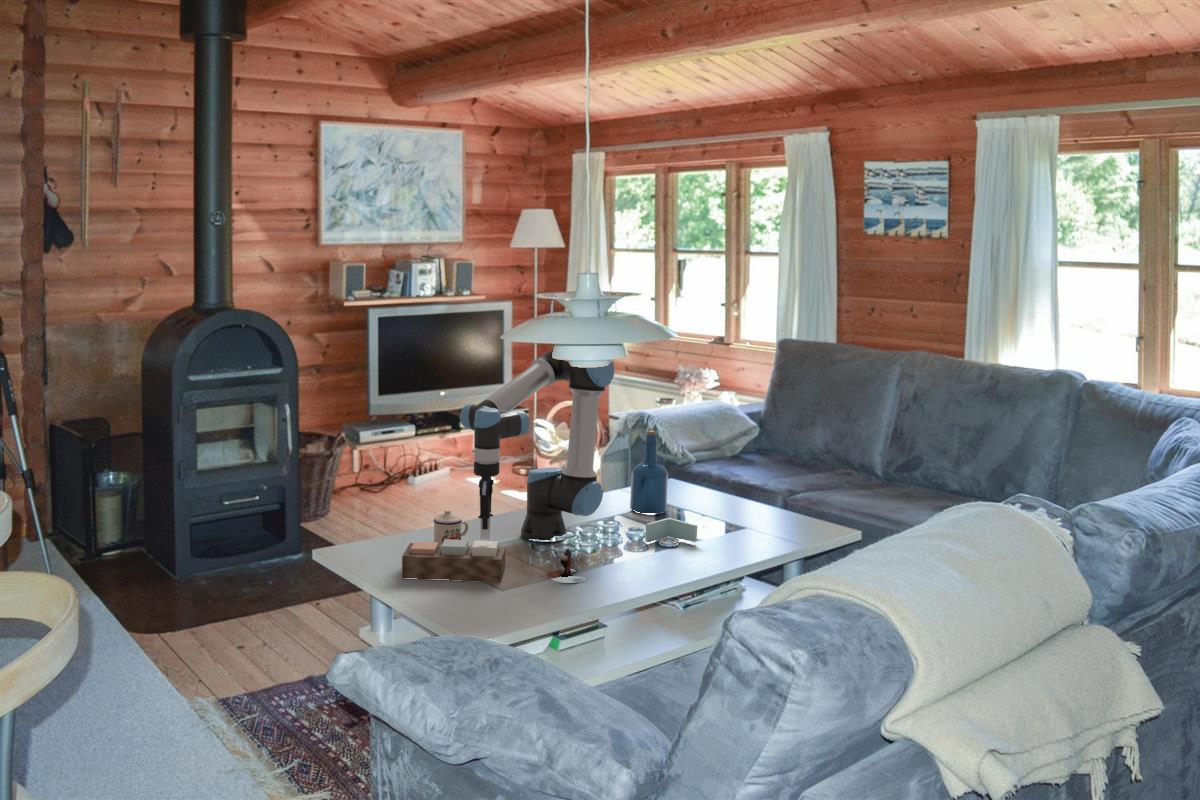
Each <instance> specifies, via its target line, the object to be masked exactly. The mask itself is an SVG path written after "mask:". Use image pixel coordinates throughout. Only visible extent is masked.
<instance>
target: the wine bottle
mask: <svg viewBox="0 0 1200 800" xmlns="http://www.w3.org/2000/svg"><path fill="white" fill-rule="evenodd" d="M657 438H658V437H657V434H656V431H655V430H651V429H650V430H647V434H646V436H645V440H644V441H645V442H644V444H645V446H644V447H645V448H644V449H645V450H644V459H643V462H640V463H638V464H637V465H635V466H634V467H633V469H632V471H631V474H630V475H631V480H630V500H629V501H630V503H629V507H630V510H631V509H632V510H635V511H637V512H640V513H661V512H664V511H665V510H666V511H667V508H668V507H667V504H668V486H669V485H668V482H669V481H668V480H669V472H668V470H667V468H666V467H665V465H664V464H663V463H662V462H660V461H658V460H657V444H658V439H657ZM632 510H631V511H632ZM666 511H665V512H666ZM665 512H664V513H665Z"/></svg>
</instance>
